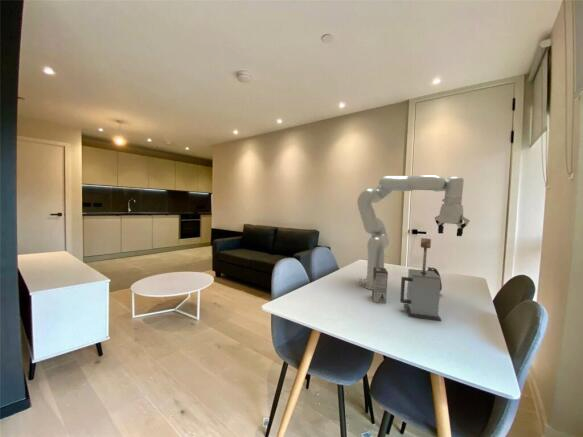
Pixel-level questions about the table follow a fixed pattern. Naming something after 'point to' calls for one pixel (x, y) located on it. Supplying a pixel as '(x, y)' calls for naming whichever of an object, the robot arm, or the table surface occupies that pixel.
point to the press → (421, 294)
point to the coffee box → (379, 285)
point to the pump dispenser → (437, 274)
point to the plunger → (425, 251)
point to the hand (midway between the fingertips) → (449, 234)
